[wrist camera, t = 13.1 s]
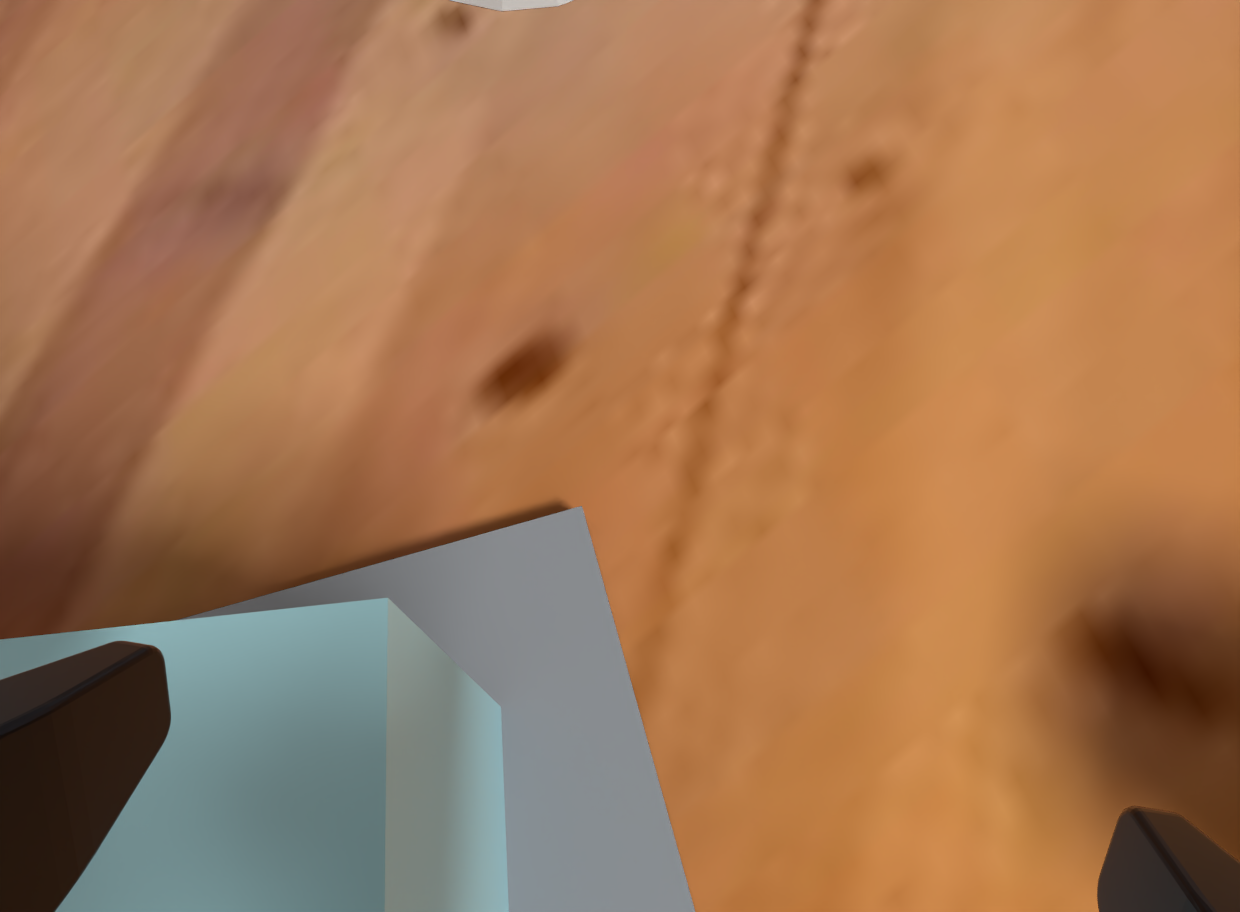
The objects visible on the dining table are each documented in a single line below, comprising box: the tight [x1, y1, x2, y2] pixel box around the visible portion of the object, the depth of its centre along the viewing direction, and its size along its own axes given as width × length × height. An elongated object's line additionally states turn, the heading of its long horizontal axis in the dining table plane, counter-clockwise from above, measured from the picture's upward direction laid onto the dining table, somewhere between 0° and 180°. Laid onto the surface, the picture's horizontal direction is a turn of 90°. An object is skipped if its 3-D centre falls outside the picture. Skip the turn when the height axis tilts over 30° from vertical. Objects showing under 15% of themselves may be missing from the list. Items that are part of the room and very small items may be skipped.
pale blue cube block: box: [0, 598, 509, 912], centre depth 16 cm, size 7×7×9 cm
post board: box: [175, 506, 695, 912], centre depth 19 cm, size 14×14×4 cm
